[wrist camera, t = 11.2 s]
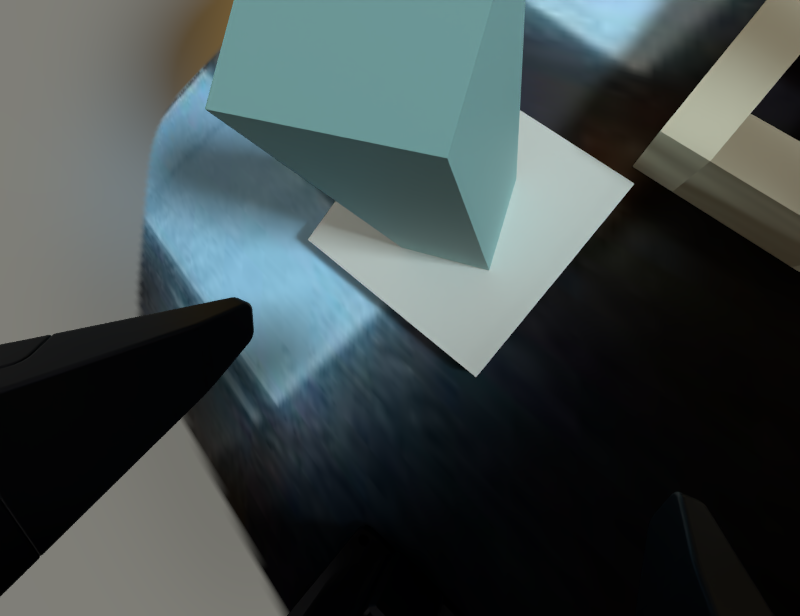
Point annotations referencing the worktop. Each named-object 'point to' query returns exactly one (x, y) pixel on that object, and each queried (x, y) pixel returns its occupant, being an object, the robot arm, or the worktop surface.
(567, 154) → the pad
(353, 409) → the worktop surface
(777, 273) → the worktop surface
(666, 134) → the socket block
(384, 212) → the post
